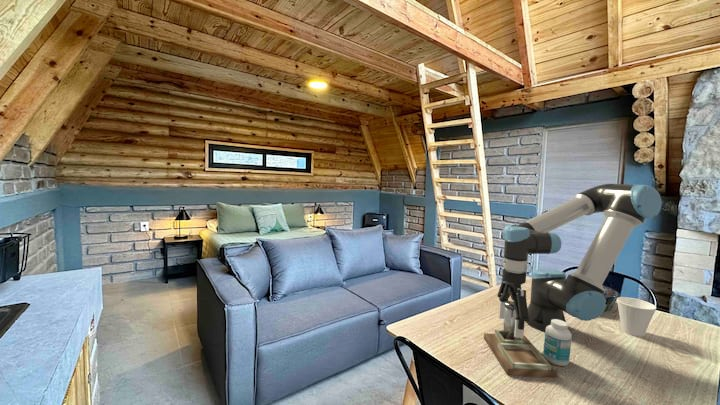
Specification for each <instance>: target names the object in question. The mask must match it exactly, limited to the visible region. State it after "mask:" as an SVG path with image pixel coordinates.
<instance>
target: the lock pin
mask: <svg viewBox="0 0 720 405" xmlns="http://www.w3.org/2000/svg"><path fill="white" fill-rule="evenodd" d="M504 306H505V312H504V319H503V329H502V330H503V338H504V339H505V340H515V337H514V332H515V318H517V315H516V311H515V306H514V302H513V300H512V301H511V300H508V301H505V302H504Z"/></svg>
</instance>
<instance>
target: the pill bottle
mask: <svg viewBox="0 0 720 405" xmlns="http://www.w3.org/2000/svg"><path fill="white" fill-rule="evenodd" d="M568 326H569V325H568V322H567V321H566V322H564V321H562V320H558V319H552V320H551V325H549V326H547V327H546V330H545V331H544V344H543V350H542V351H543V352H542V353H543V354H542V355H543V357H544V358H545V359H546V360H547V361H548V362H549V363H550V364H551V365H552V364H553V365H554V366H558V367H566V366H568V365H569V363H570V357H571V348H572V347H571V346H572V339H573V338H572V337H573V336H572V332H571V331H570V330H569V329H568Z"/></svg>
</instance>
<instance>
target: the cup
mask: <svg viewBox="0 0 720 405" xmlns="http://www.w3.org/2000/svg"><path fill="white" fill-rule="evenodd" d="M616 302H617V308H618V314H619V321H620V326H621V331H622V332H624V333H626V334H628V335H631V336H633V337H634V336H635V337H642V336H643V337H645V334H646V333H647V331H648V328H649V325H650V323H651V320H652V318H653V317H654V314H655V312H656V310H657V306H656V305H655V304H653V303H651V302H649V301H646V300H642V299H639V298H636V297H635V298H634V297H627V296H619V297H618V298H617V300H616Z"/></svg>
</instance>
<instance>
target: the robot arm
mask: <svg viewBox="0 0 720 405" xmlns="http://www.w3.org/2000/svg"><path fill="white" fill-rule="evenodd" d="M662 205H663V204H662V198H661V194H660V193H659V191H658V190H657V189H656V188H655V187H653V186H652V185H651V186H650V185H647V184H646V185H645V184H640V183H637V184H636V183H635V184H624V183H622V184H620V183H604V184H600V185H596V186H594V187H591V188H588V189H585V190H583V191H580V192H579V193H576V194H575V195H573V197H572V199H570V200H568V201H566V202H563V203H561V204H560V205H558V206H556V207H554V208H551V209H548V210H547V211H544V212H543V213H541V214H538V215H536V216H534V217H532V218H530V219H528V220H526V221H523V222H521V223H519V224H517V225H516V224H508V225H506V226H505V227H504V228H503V229H502V233H501V235H502V238H503V239H504V248H503V249H504V250H503V260H502V264H503V265H502V278H501V283H500V286H499V289H498V292H497V295H496V296H497V298H498V300H499V308H498V309H499V310H498V318H499V319H501V320H504V312H505V306H504V302H505V301H509V298H510V299H511V300H512V302H514V306H515V311H516V315H517V318H515V332H514V337H516V338H523V336H525V334H524V332H525V324H527V325H529V326H530V327H532V328H534V329H537V330H539V331H542V332H545V330H546V327H547V326H549V325H551V320H552V319H558V320H562V321H564V322H566V323H567V321H566V317H565V314H564V312H565V313H567V314H568V315H569V316H571V317H574V318H576V319H579V320H580V321H584V322H585V321H587V322H588V321H592V320H596V319H597V318H599V317H600V316H602V315H603V313H605V312H604V310H605V308H606V304H605V303H606V299H605V297H604V296H603V293H604V291H605V290H604V288H603V286H602V285H604V282H605V280H606V278H607V277H608V275H609V273H610V271H611V269H612V267H613V265H614V264H615V262H616V260H617V259H618V257H619V255H620V253H621V251H622V250H623V247H624V246H625V245H626V243H627V240H628V239H629V237H630V235H631V233H632V232H633V230H634V228H637V227H640V226H642V225H643V223H644V221H645V220H646V219H647V220H648V219H653V218H655V217H657V216H658V214H659V213H660V211H661V209H662ZM597 213H598V214H599V213H603V215H604V217H605V219H604V220H603V222H602V224H601V225H600V227H599V230H598V231H597V233H596V234H595V237H594V238H593V239H592V242H591V243H590V246H589V247H588V248H587V251H586V253H585V255H584V257H583V258H582V260H581V261H580V263H579V265H578V267H577V269H576V270H575V272H571V273H568V275H567V276H566V273H565V272H564V271H561V270H556V269H555V270H554V269H546V268H545V269H535V270H534V271H533V272H532V278H531V287H530V302H529V304H528V302H527V290H526V289H522V285H523V284H526V281H527V270H528V256H529V255H539V254H540V255H541V254H543V255H550V254H556V253H558V252H560V250H561V249H562V239H561V237H560V236H559V235H558V234H557V233H555V232H551V231H554V230H556V229H558V228H560V227H562V226H564V225H567V224H568V223H571V222H573V221H575V220H577V219H578V218H581V217H583V216H592V215H593V214H597Z"/></svg>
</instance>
